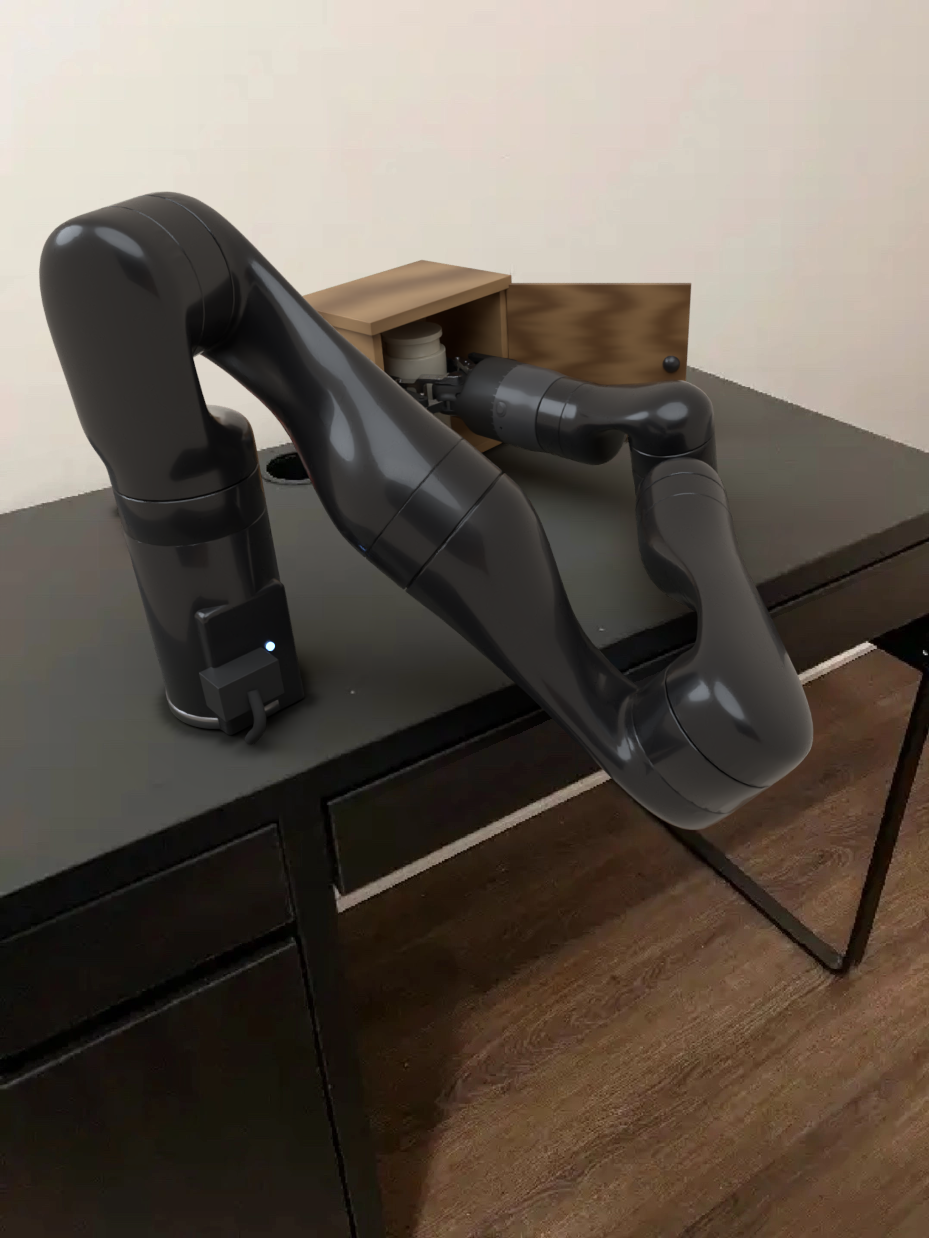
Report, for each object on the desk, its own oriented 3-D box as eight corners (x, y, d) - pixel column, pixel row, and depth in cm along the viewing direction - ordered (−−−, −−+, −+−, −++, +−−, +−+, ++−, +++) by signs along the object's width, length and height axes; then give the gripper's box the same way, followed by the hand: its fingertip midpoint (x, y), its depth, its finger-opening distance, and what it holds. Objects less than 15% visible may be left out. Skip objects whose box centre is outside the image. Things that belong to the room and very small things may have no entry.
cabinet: (684, 444, 107) (694, 274, 98) (507, 544, 90) (499, 353, 81) (486, 390, 124) (478, 242, 115) (307, 467, 108) (281, 302, 98)
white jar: (464, 431, 107) (457, 326, 101) (420, 452, 103) (410, 344, 98) (417, 417, 112) (407, 316, 106) (373, 436, 108) (360, 332, 102)
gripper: (471, 469, 93) (351, 429, 103) (571, 420, 101) (451, 387, 112) (466, 389, 89) (341, 356, 99) (571, 345, 97) (446, 318, 108)
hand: (400, 373), depth 105 cm, fingers closed on white jar, 6 cm apart
